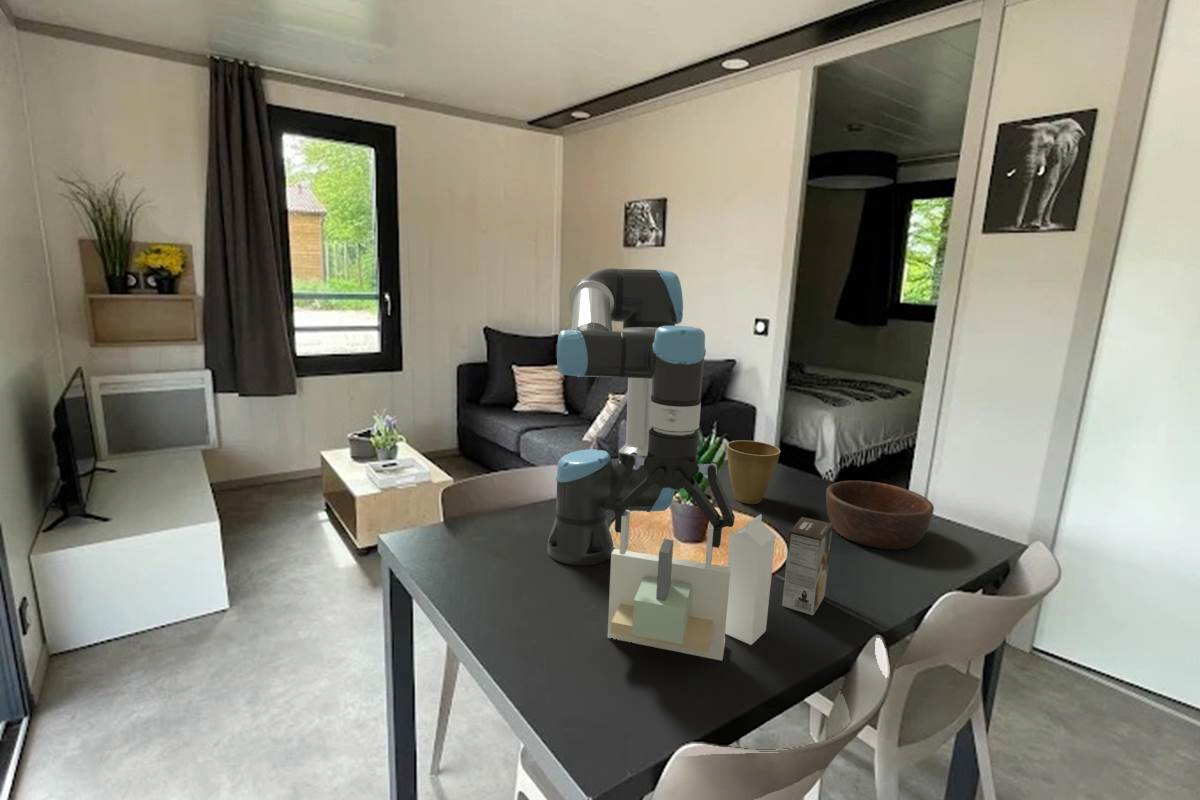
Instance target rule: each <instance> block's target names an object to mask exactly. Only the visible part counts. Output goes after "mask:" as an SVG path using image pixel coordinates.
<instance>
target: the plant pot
mask: <svg viewBox="0 0 1200 800" xmlns="http://www.w3.org/2000/svg"><path fill="white" fill-rule="evenodd" d="M726 450H727V451H726V452H727V454H726V455H727V456H726V457H727V465H728V474H729V478H730V479H729V480H730V484H731V488H732V492H733V495H734V498H735V500H736V501H738V502H739V503H743V504H747V505H755V504H759V503H761V502H762V499H763V498H764V496H765V495H766V492H767V490H768V488H769V486H770V484H771V481H772V479H773V476H774V473H775V471H776V469H777V465H778V461H779V458H780V454H781V450H780V448H779V447H778V446H776V445H773V444H770V443H766V442H761V441H756V440H732V441H729V442H727V444H726Z"/></svg>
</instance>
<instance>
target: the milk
mask: <svg viewBox="0 0 1200 800" xmlns="http://www.w3.org/2000/svg"><path fill="white" fill-rule="evenodd" d="M762 516H763V515H762V514H758V515H757V516H755V517H754V518H752V519H751V520H748V522H746V524H745V525H743V526H742V527H741V528H739V529H738V530H736V531H734V532H733V533H732V534H730V535H729V540H728V550H727V551H728V553H727V564H726V567H731V573H730V584H729V596H728V607H727V618H726V630H725V635H727V636H730V637H732V638H734V639H736V640H739V641H741V642H743V643H745V644H748V645H750V646H752V645H753V644H754V643H756V642H757V640H759V638H760V637H761V636H762V635H764V634H765V633H766V631H767V622H768V613H769V605H770V604H769V603H770V594H771V584H772V575H773V563H774V555H775V547H776V546H775V544H776V534H775V533H774V532H773V531H772V530H771V529H770V528H769V527H767V526H766V525H765V523H763V522H762V519H763V518H762Z"/></svg>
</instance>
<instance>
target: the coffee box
mask: <svg viewBox="0 0 1200 800" xmlns="http://www.w3.org/2000/svg"><path fill="white" fill-rule="evenodd" d="M833 530H834V529H833V524H832V523H830V522H826V521H822V520H818V519H813V518H808V517H803V516H801V517H800V518H799V520H798V521H796V523H795V524H794V526H793V527H792V528H791V529H790V531H789V535H788V546H787V552H786V553H787V555H786V562H785V573H784V583H783V584H784V585H783V590H782V593H783V594H782V601H781V606H782V607H785V608H788V609H790V610H794V611H797V612H801V613H803V614H807V615H810V616H814V615H815V613H816V612H817V610H818V608H819V607H820V605H821V604H822V602H823V600H824V598H825V595H826V587H827V586H826V585H827V578H828V571H829V569H828V568H829V561H830V552H831V545H832V536H833Z"/></svg>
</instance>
